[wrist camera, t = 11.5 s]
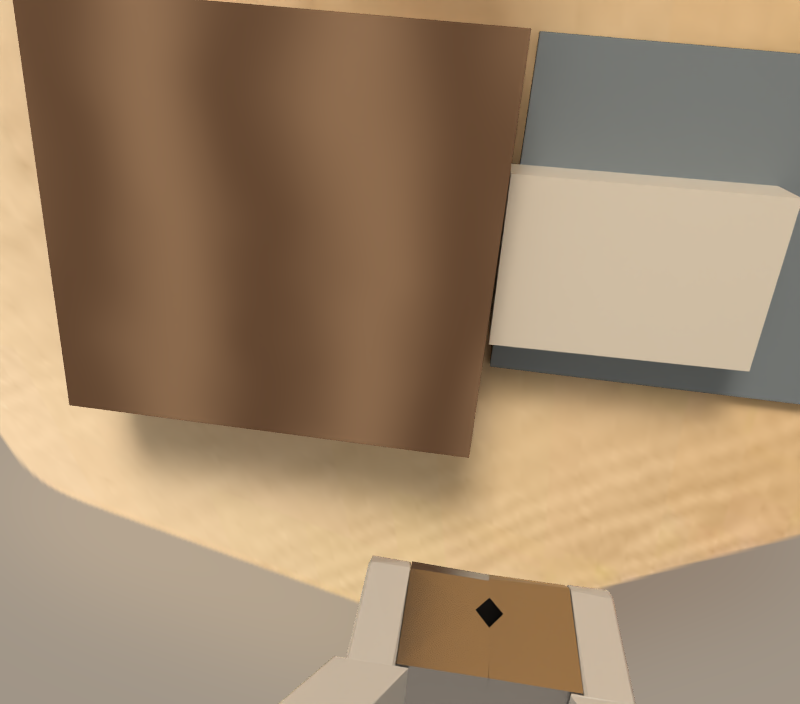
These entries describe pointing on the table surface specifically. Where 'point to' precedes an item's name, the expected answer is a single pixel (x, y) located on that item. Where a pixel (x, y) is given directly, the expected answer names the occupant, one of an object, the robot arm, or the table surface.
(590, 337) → the rectangular block
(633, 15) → the table surface
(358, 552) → the table surface
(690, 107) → the mat
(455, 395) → the wooden square slab
